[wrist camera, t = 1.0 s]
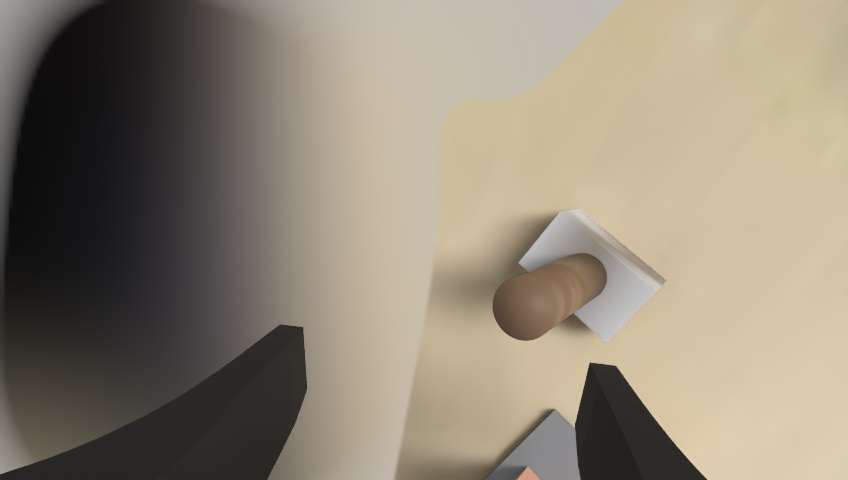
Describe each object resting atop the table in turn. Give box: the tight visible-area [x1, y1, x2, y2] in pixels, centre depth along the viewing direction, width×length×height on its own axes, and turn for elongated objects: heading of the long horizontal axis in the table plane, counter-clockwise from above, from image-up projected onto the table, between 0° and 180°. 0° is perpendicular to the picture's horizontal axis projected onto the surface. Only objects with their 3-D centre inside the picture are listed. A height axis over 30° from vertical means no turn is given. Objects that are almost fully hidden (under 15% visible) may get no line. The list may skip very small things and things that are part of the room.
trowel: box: [493, 209, 666, 343], centre depth 21 cm, size 5×3×10 cm, turn 51°
